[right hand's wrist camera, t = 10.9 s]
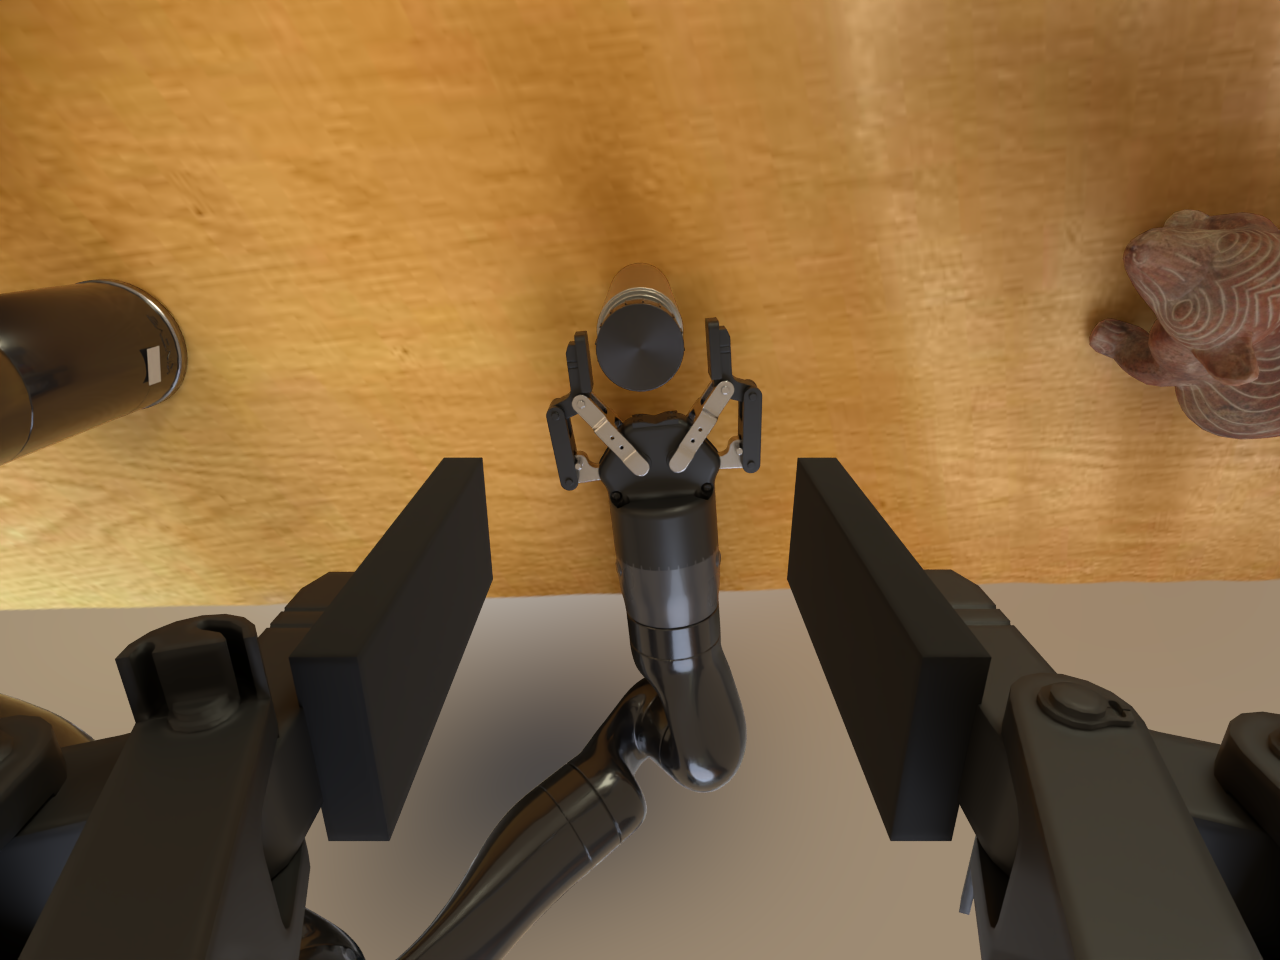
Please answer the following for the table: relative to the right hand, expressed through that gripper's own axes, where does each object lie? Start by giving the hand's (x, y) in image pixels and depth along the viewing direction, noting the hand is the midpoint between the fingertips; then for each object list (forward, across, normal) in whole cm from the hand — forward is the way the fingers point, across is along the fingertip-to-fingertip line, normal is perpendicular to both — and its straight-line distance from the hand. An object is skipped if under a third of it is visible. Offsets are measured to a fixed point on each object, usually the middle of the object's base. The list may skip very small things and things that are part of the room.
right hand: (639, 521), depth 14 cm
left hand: (+33, 0, +1) cm, 33 cm away
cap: (+19, 0, 0) cm, 19 cm away
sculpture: (+39, -38, +1) cm, 55 cm away
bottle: (+39, 0, 0) cm, 39 cm away
